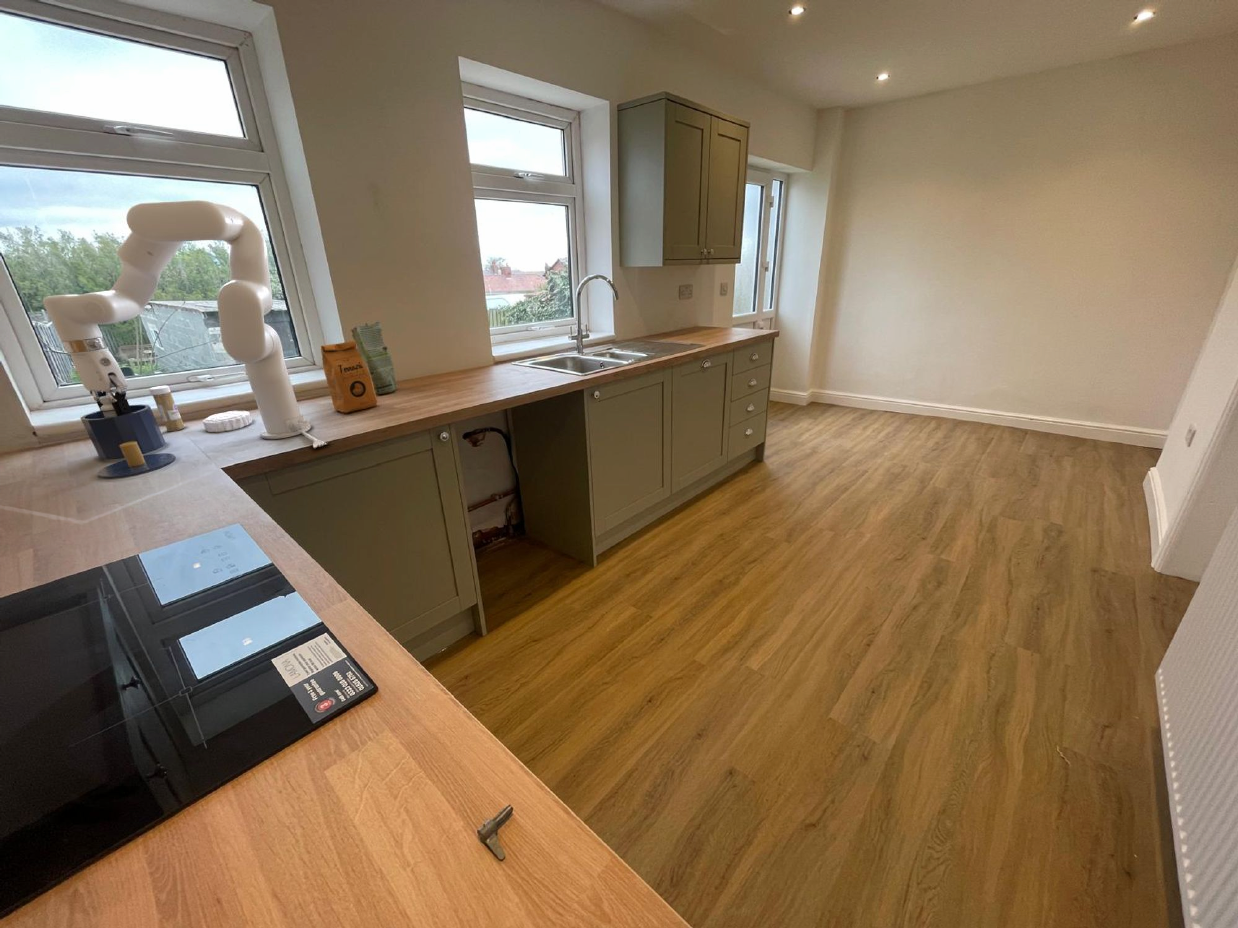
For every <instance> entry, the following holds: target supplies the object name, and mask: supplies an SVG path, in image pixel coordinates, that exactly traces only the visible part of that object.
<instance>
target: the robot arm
mask: <svg viewBox="0 0 1238 928" xmlns="http://www.w3.org/2000/svg"><path fill="white" fill-rule="evenodd" d="M126 224H127V226H128V229H130V233H129V234H128V235H127V237H126V238H125V240H124V241H123V242H122V244H121V245H120V247H118V249H117V251H116V254H117V256H118V258H119V259H120V261H121V262H122V270H121V273H120V275H119V277H118V279H117V280H116V281H115V283H114V284H113V285H112V286H111V288H110V289H109V290H103V291H102V290H101V291H95V292H88V293H81V294H75V293H73V294H60V295H59V294H56V295H49V296H45V297H44V298H43V299H42V303H43V305H44V308H45V310H46V312H47V314H48V316H49V319H50V321H51V322H52V324H53V327H54V328H55V331H56V333H57V335H58V336H59V339H60V341H61V343H62V345H63V347H64V349H65V352H66V354H67V355H68V356H70V358H71V360H72V363H73V367H74V368H75V371H76V373H77V375H78V378H79V380H80V383H82V384H81V385H83V387H84V388H85V389H86V390H87V391H88V393H89V394H90V395H92V397H93V400H94V401H95V402H96V404H97V406H98V409H99V411H100V410H101V406H103V403H101V402H100V400H99V398H100V397H102V396H107V395H109V397H110V398H111V400H112V401H113V402H112V403H111V404H112V406H113V408H114V410H115V412H116V414H117V416H120V415H126V414H129V413H133V412H132V410H131V408H130V405H131V404H130V403H129V401H128V397H127V390H128V386H129V383H128V381H127V379H126V377H125V374H124V373H123V371H122V369H121V367H120V365H119V363H118V361H117V360H116V359H115V357H114V355H113V354H112V353H111V351H110V349H109V347H108V344H107V342H106V340H105V338H104V336H103V333H102V331H101V329H100V327H99V325H112V324H117V323H120V322H126V321H131V320H133V319H135V318H136V317H138V316H139V315H140V314H141V313H142V312H143V311H144V309H145V308H146V306H147V305H148V304H149V303H150V301H151V300H152V298H153V297H154V296H155V294H156V291H157V289H158V285H159V283H160V278H161V274H162V273H163V272H164V270H165V269H166V267H167V266H168V264H169V263H170V262H171V261H172V259H173V258H174V256H175V255H176V253H177V252H178V251H179V250H180V249H181V248H182V246H183V244H184V243H185V242H199V241H200V242H201V241H219V242H221V241H223V242H225V243H226V244H227V246H228V266H229V273H230V274H229V276H230V281H228V282H226V283H225V284H223V285H222V286H221V287H220V289H219V291H218V292H217V293H218V294H217V299H216V305H217V314H218V322H219V329H220V338H221V343H222V347H223V349H224V351H225V352H226V354H227V356H229V357H230V358H232V359H233V360H234V361H237V362H239V363H242V364H244V368H245V372H246V374H247V375H246V376H247V379H248V381H249V385H250V389H251V391H252V394H253V397H254V399H255V400H254V401H255V403H256V407H257V408H258V412H259V415H260V417H261V421H262V423H263V426H264V429H263V430H262V431H260V437H261V438H262V439H265V440H279V439H285V438H290V437H295V436H298V435H301V434H302V433H301V432H302V431H304V432H306V433H307V432H308V431H310V429H311V428H312V426H311V422H310V420H305V418H304V415H303V414H302V413H301V410H300V407H299V404H298V400H297V397H296V394H295V391H294V388H293V384H292V382H291V379H290V374H289V371H288V368H287V364H286V360H285V356H284V351H283V345H282V341H281V338H280V336H279V334H278V332H277V331H276V330H275V329H274V328H273V327H272V326H271V325H269V324H267V323H265V315H267V314H269V313H270V312H271V310H272V309H273V306H274V300H273V293H272V282H271V273H270V272H271V271H270V266H269V265H270V264H269V253H268V248H267V247H268V246H267V243H266V240H265V236H264V234H263V233H262V231H261V230H260V228H259V227H258V225H257V224H256V223H255V222H254V221H253V220H252V219H251V218H249V217H248V216H247V215H246V214H244V213H242V212H241V211H239V210H237V209H236V208H233V207H231V206H229V205H225V204H222V203H217V202H213V201H208V200H198V199H197V200H179V201H177V200H176V201H160V202H156V201H155V202H153V201H152V202H140V203H136V204H134V205H132V206H131V207H130V208H129V209H128V211H127V213H126ZM114 394H115V396H114ZM101 413H102V411H101ZM102 415H103V413H102ZM103 416H104V415H103Z"/></svg>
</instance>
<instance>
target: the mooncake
mask: <svg viewBox="0 0 1238 928" xmlns="http://www.w3.org/2000/svg"><path fill="white" fill-rule="evenodd" d="M252 423H253V419H252V415H251V413H250V412H249V411H246V410H229V411H224V412H220V413H215V414H211V415H209V416H208V417H206V418H204V419H203V420H202V424H203V426H204V429H205V431H206V432H209V433H223V432H228V431H234V430H238V429H242V428H244V427H247V426H249V425H251V424H252Z"/></svg>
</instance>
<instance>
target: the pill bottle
mask: <svg viewBox="0 0 1238 928" xmlns="http://www.w3.org/2000/svg"><path fill="white" fill-rule="evenodd" d="M113 394H114V396H115V393H113ZM99 400H100V402H101V403H103V406H101V411H102V413H103V415H104V417H105V418H109V417H115V416H117V414H116V412H115V410H114V408H113V406H112V404H111V403H112V402H113V401H112V400H111V398H110V397H109V395H107V396H102V397H100V398H99Z"/></svg>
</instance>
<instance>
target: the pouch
mask: <svg viewBox="0 0 1238 928" xmlns="http://www.w3.org/2000/svg"><path fill="white" fill-rule="evenodd" d="M350 331H351V333H352V335H351V336H352V338H353V341H354V340H355V342H356V348H357V349H358V352H359V353H360V355H361V357H362V359H363V361H364V362H365V365H366V367H367V369H368V371H369V374H370V376H371V380H372V383H373V386H374V391H375V395H383V394H389V393H392V392H395V391H396V390H398V384H397V380H396V373H395V369H394V363H393V359H392V356H391V354H390V353H389V350H388V347H387V346H386V345H385V342H384V337H383V334H382V331H383V329H382V327H381V322H380V321H376V322H375V323H371V324H370V325H369V324H368V323H367V322H366V323H365V324H364V325H359V326H358V325H357V326H355V327H353V328H352V329H350Z"/></svg>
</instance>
